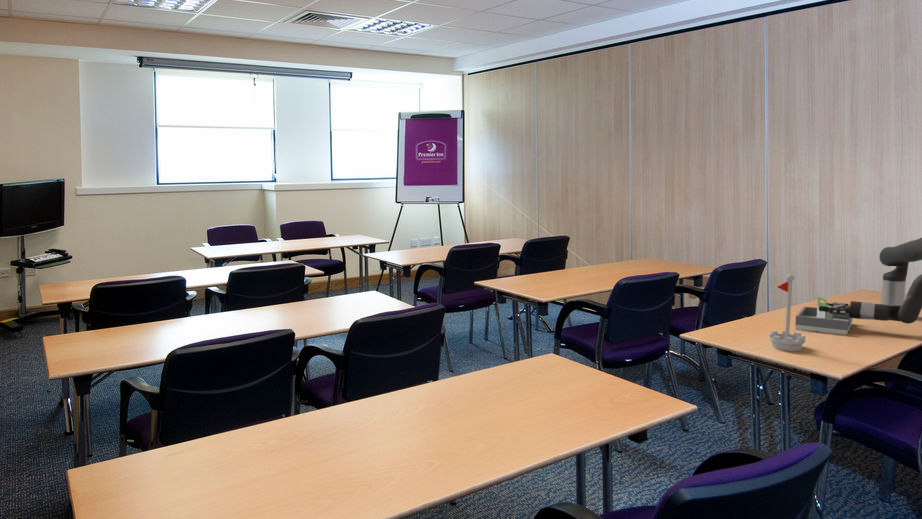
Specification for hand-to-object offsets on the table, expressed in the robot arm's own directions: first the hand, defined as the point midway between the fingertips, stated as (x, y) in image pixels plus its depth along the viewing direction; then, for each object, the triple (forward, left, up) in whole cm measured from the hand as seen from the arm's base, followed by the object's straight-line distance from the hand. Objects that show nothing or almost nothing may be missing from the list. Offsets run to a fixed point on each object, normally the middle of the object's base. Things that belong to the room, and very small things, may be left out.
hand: (820, 306), depth 290 cm
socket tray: (0, +2, -9) cm, 9 cm away
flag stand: (+46, -6, -9) cm, 47 cm away
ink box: (0, +2, -9) cm, 9 cm away
